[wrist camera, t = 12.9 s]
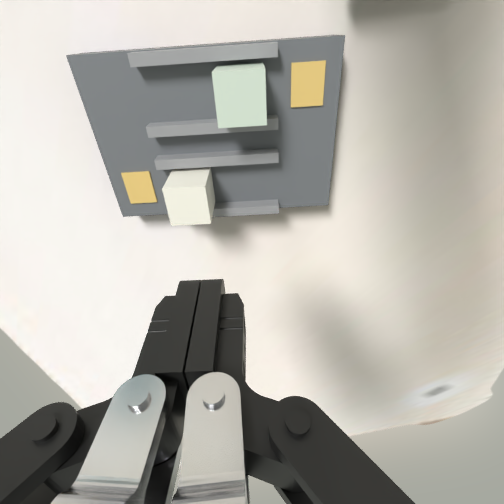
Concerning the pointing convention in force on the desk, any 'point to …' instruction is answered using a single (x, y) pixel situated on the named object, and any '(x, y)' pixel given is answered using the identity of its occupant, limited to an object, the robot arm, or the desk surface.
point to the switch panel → (215, 122)
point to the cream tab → (189, 196)
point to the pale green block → (240, 95)
